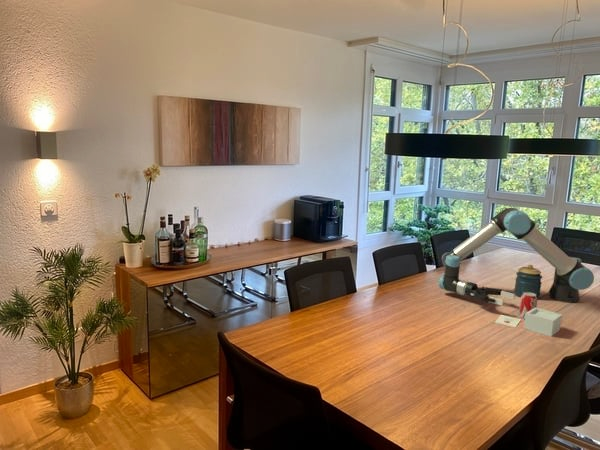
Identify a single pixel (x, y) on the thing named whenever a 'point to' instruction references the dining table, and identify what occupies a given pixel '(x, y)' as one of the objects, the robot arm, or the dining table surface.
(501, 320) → the cream flat plate
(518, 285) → the canister
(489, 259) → the dining table surface
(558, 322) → the base block
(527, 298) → the soda can
